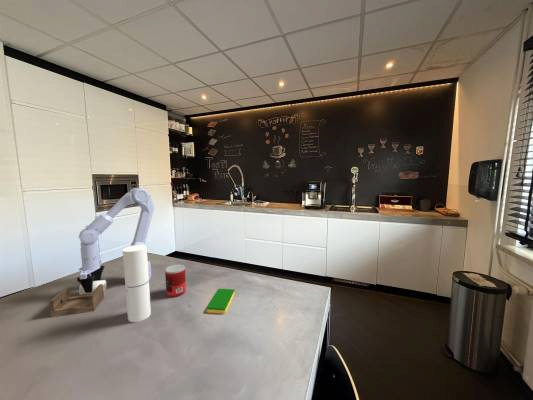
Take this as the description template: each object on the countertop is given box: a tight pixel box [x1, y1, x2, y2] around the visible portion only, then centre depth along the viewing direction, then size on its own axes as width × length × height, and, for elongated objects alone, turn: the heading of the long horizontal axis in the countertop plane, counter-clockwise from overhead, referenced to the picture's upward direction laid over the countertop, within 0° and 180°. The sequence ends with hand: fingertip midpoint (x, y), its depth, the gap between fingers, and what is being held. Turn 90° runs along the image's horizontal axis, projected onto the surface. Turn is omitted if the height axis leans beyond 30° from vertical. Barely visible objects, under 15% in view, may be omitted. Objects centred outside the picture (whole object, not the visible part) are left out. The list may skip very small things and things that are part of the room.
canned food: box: [164, 264, 187, 298], centre depth 94 cm, size 8×8×11 cm
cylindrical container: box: [122, 244, 152, 323], centre depth 78 cm, size 7×7×25 cm
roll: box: [78, 279, 107, 296], centre depth 94 cm, size 8×5×5 cm, turn 107°
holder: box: [48, 284, 105, 318], centre depth 84 cm, size 13×9×6 cm
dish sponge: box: [206, 288, 236, 315], centre depth 87 cm, size 7×14×2 cm, turn 174°
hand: (93, 287), depth 94 cm, fingers open, 7 cm apart
